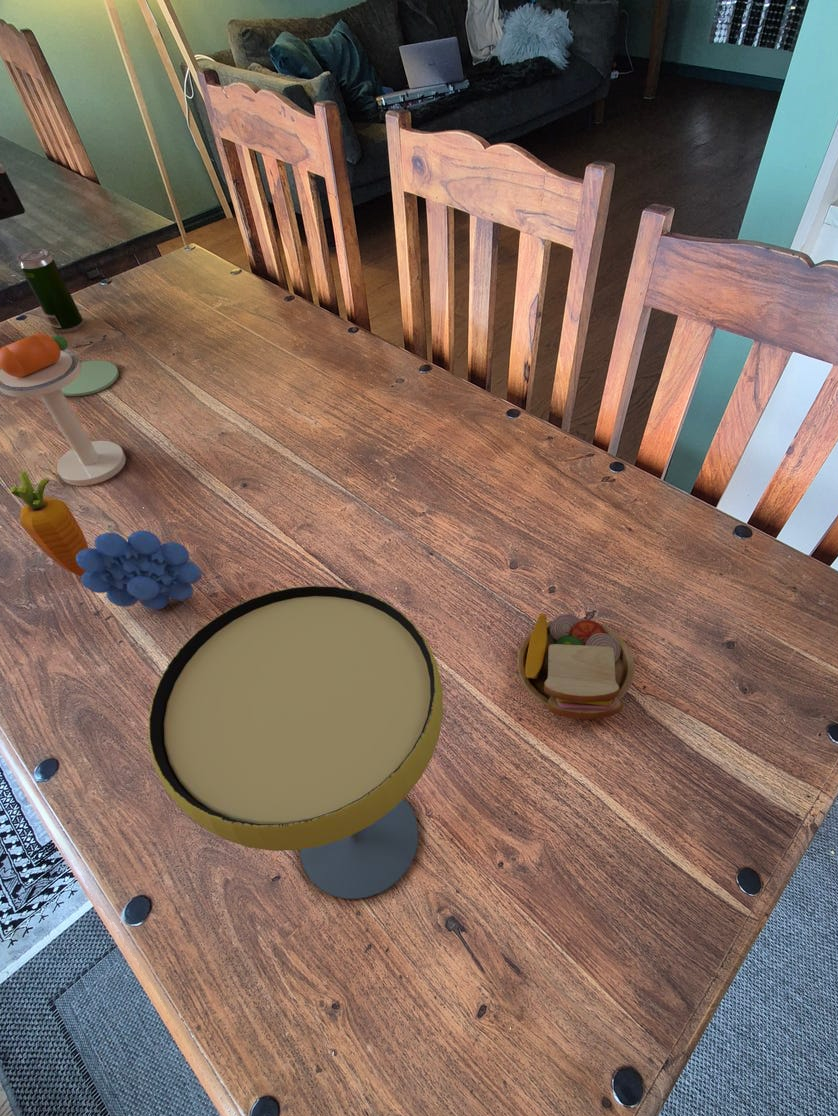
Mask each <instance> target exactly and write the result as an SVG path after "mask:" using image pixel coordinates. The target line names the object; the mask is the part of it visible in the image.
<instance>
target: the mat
mask: <svg viewBox="0 0 838 1116" xmlns="http://www.w3.org/2000/svg"><path fill="white" fill-rule="evenodd" d="M80 363H81V366H82V368H81V372H80V374H79V375H78V377H77V378H76V379H75V380H74V381H72V382H71V383H70V384H68V385H66V386H65V387H63V388H61V391H62V392H63V394H64V396H65V397H66V396H67V397H83V396H89V395H90V396H91V395H93V394H96V393H99V392H102V391H104V390H105V389H107V388H109V387H110V386H112V385H113V384H114V383H115V382H116V381H117V379H118V378H119V374H120V373H119V369H118V367H117V366H116V365H115V364H114V363H113V362H111V361H106V360H99V359H95V360H93V359H92V360H86V361H82V362H81V361H80Z"/></svg>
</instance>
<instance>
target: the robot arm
mask: <svg viewBox="0 0 838 1116" xmlns="http://www.w3.org/2000/svg"><path fill="white" fill-rule="evenodd" d="M25 212H26V209H25V207H24V205H23V203H22V201H21V199H20V197H19V196H18V193H17V191H16V189H15V187H14V185H13V184H12V181H11V179H10V177H9V176H8V173H7V171H5V169H4V166H3V165H2V163H1V162H0V221H2V220H6V219H9V218H14V217H16V216H20V215H24V214H25Z"/></svg>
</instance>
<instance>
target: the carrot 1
mask: <svg viewBox="0 0 838 1116" xmlns="http://www.w3.org/2000/svg"><path fill="white" fill-rule="evenodd" d="M68 346H69V344H68V339H67V338H65V337H64V336H63V335H60V334H55V335H52V336H50V335H48V334H45V333H35V334H31V335H29V336H26V337H24V338H21V339H20V340H16V341H14V342H12V343H9V344H6V345H4V346H2V347H1V348H0V368H1V369H2V370H3V371H4V372H5V373H7V374H9V375H11V376H14V377H23V376H26V375H29V374H31V373H33V372H36V371H38V370H40V369H43V368H45V367H47V366H50V365H52V364H54V363H56V362H57V361H58V360H59V358H60V353H61V352H60V351H63V350H65V349H68Z"/></svg>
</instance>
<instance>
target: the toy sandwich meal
mask: <svg viewBox="0 0 838 1116" xmlns="http://www.w3.org/2000/svg"><path fill="white" fill-rule="evenodd" d="M516 664H517V670H518V675H519V678H520V680H521V682H522V684H523V685H524V687H525V688H526V690H527V691H528V692H529V693H530V694H531V696H533V697H534V698H535V699H537V700H538V701H539V702H541V703H543V704H544V705H545V706H547V710H548V711H549V712H550V713H552V714H554V715H557V716H559V717H563V718H564V717H565V718H569V719H576V720H594V719H595V720H596V719H597V720H598V719H602V718H603V719H604V718H609V717H612V716H615V715H617V714H620V712H621V711H622V707H623V703H622V701H621V699H622V698H623V697H624V696H625V695H626V694H627V692H628V691H629V689H630V688H631V686H632V684H633V681H634V677H635V660H634V657H633V654H632V652H631V649H630V648H629V646H628V645H627V643H626V642H625V641H624V639H623V638H621V636H620V635H619V634H618V633H616V631H614V630H612V629H611V628H609V627H608V626H605V625H604V624H602V623H600V622H597V621H595V620H591V619H587V618H582V617H581V618H580V617H578V616H577V615H575V614H572V613H562V614H560V615H557V616H556V617H555V618H554V619H553V620H549V621H547V614H546V613H540V614H539V615H538V618H537V620H536V622H535V625H534V627H533V629H532V631H530V633H528V634H527V636H525V639H524V640H522V643H521V645H520V647H519V649H518V653H517V659H516Z"/></svg>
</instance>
